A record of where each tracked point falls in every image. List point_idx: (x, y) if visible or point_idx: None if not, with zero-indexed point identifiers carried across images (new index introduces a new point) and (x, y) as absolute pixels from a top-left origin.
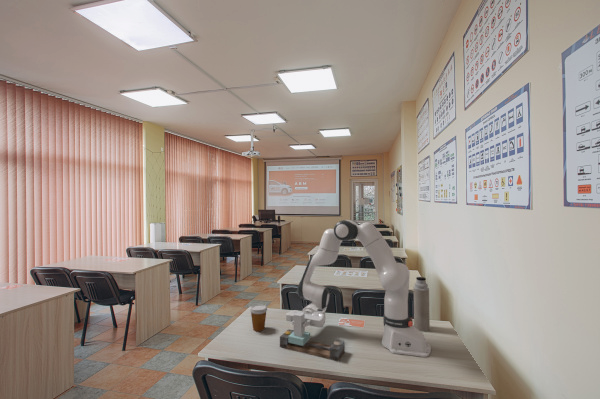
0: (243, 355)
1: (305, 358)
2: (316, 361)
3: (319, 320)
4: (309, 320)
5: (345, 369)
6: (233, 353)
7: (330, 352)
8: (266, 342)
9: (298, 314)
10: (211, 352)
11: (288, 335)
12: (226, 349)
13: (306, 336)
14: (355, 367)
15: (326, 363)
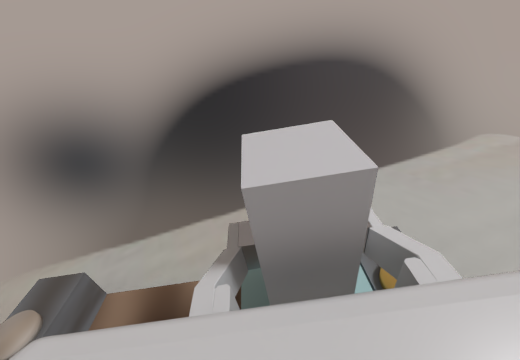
0: (411, 166)
1: (222, 251)
2: (174, 257)
3: (32, 341)
4: (202, 307)
5: (62, 271)
6: (446, 159)
7: (94, 285)
8: (487, 260)
9: (290, 139)
10: (492, 137)
11: (372, 263)
12: (494, 158)
13: (241, 298)
14: (10, 303)
15: (133, 266)
